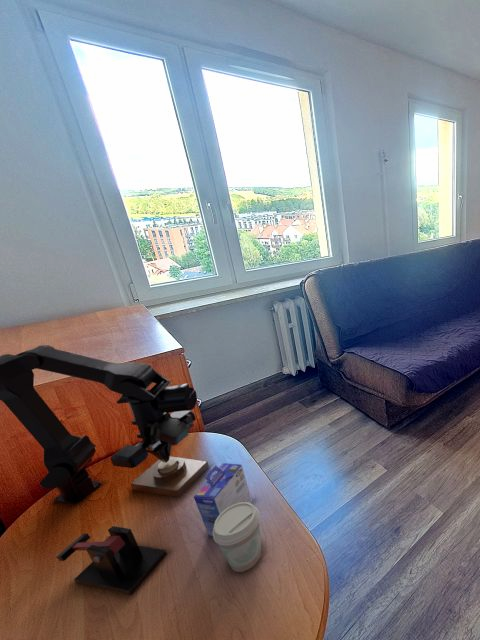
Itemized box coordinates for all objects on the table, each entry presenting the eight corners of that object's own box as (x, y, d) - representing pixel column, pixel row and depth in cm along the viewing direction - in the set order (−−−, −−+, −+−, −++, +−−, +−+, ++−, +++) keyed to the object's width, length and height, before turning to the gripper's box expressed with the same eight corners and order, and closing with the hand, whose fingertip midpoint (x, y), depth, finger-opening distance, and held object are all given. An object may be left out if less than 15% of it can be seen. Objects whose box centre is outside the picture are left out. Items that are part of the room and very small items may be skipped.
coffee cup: (222, 587, 66) (208, 546, 62) (224, 549, 73) (212, 509, 69) (269, 566, 70) (259, 526, 65) (266, 532, 77) (257, 493, 72)
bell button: (155, 472, 88) (153, 467, 87) (168, 461, 92) (167, 456, 91) (168, 474, 88) (167, 469, 87) (181, 463, 91) (179, 458, 91)
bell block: (132, 489, 87) (128, 478, 86) (166, 461, 97) (162, 450, 95) (179, 497, 85) (175, 485, 84) (209, 467, 95) (205, 456, 93)
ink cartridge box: (233, 498, 85) (220, 454, 80) (253, 500, 84) (242, 456, 79) (205, 535, 76) (189, 488, 71) (228, 538, 75) (213, 490, 70)
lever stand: (75, 583, 66) (58, 553, 63) (116, 544, 74) (102, 516, 71) (131, 595, 65) (116, 565, 61) (167, 553, 72) (155, 525, 69)
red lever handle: (61, 563, 68) (54, 554, 67) (88, 539, 72) (81, 531, 71) (107, 561, 64) (100, 553, 64) (132, 537, 69) (126, 528, 68)
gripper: (141, 442, 73) (161, 494, 79) (206, 395, 91) (218, 440, 96) (98, 437, 75) (121, 488, 81) (170, 391, 92) (184, 436, 98)
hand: (166, 461), depth 89 cm, fingers closed
